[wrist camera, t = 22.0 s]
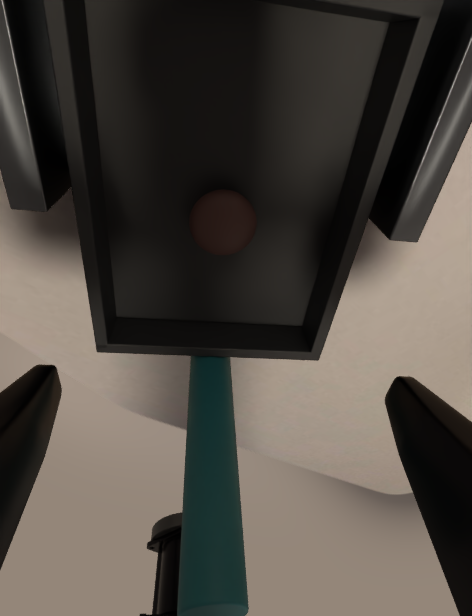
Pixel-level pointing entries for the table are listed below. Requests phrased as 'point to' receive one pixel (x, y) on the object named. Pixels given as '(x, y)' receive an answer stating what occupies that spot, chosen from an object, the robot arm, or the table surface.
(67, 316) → the table surface
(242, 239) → the chocolate truffle
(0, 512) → the robot arm
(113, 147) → the black compartment tray
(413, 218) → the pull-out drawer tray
